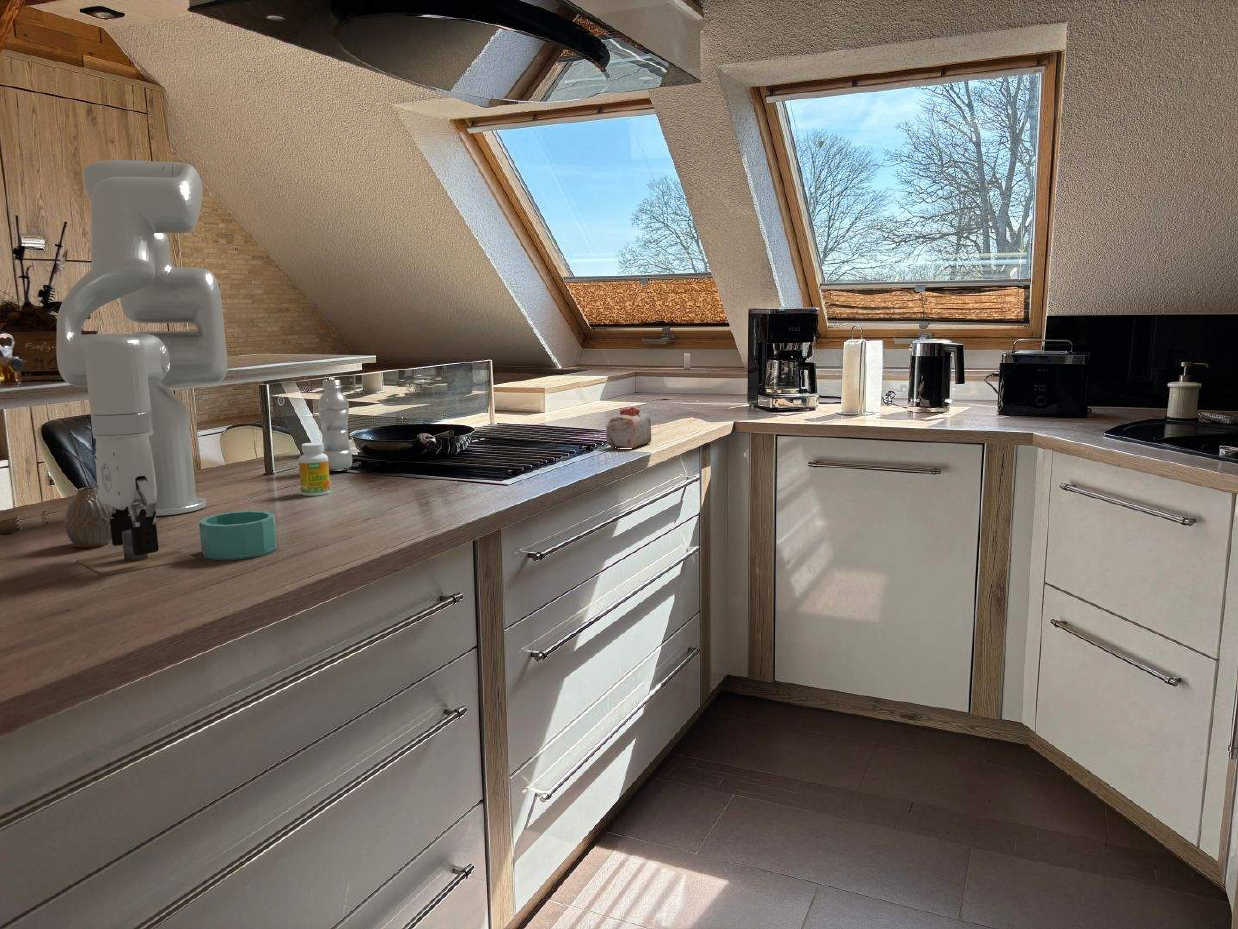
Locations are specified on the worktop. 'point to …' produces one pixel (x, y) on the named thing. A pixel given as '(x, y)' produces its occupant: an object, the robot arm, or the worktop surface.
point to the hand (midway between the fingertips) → (135, 547)
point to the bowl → (238, 535)
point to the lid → (133, 559)
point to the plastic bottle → (335, 425)
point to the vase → (87, 519)
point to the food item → (629, 429)
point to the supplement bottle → (314, 470)
